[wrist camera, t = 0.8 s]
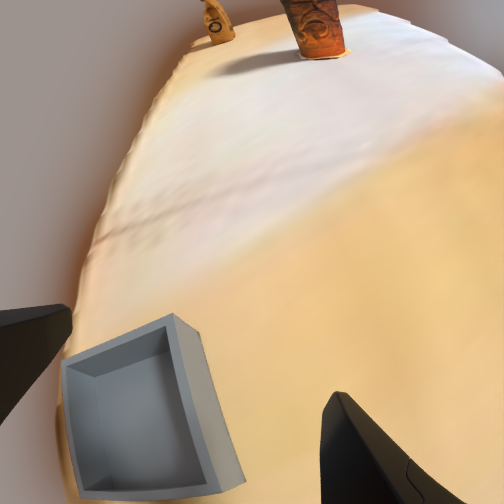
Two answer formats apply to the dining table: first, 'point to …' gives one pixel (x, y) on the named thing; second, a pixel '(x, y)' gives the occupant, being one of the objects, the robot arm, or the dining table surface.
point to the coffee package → (217, 23)
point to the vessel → (316, 28)
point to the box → (147, 418)
